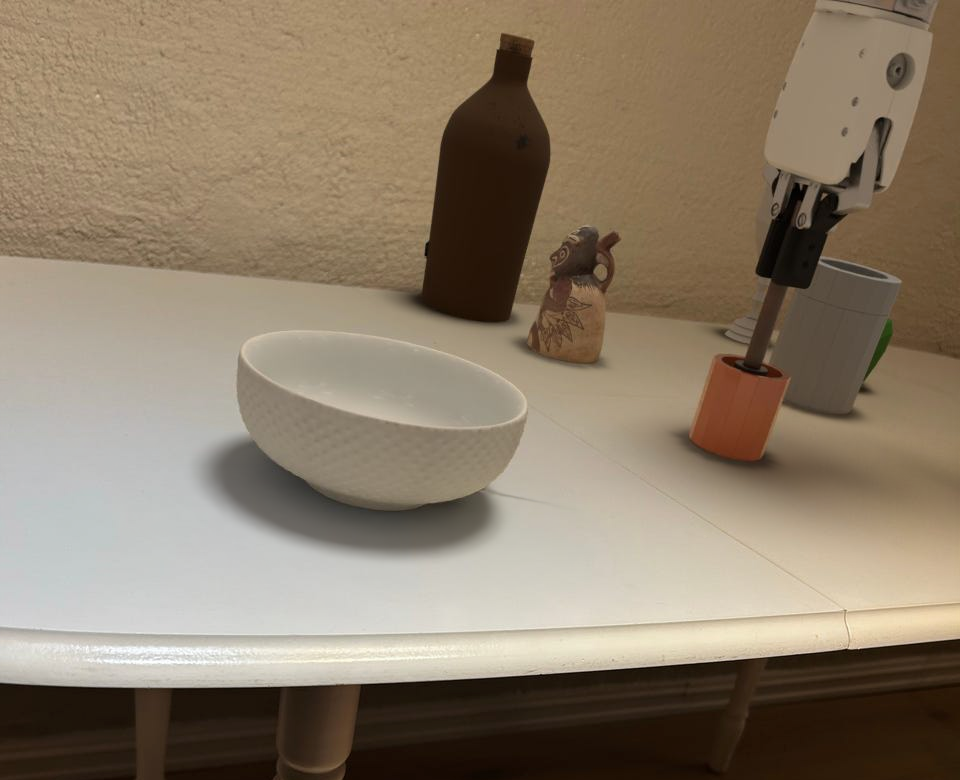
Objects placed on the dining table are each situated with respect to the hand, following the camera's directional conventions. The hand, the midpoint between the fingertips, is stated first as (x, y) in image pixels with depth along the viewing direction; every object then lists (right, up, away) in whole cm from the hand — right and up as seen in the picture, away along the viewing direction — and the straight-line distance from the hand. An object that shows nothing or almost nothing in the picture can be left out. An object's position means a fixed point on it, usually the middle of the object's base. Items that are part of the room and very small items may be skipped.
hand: (781, 280), depth 77 cm
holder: (-3, -11, +7) cm, 14 cm away
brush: (-2, -10, +6) cm, 12 cm away
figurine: (-15, 0, +22) cm, 27 cm away
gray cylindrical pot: (+10, -3, +27) cm, 28 cm away
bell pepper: (+16, +2, +37) cm, 41 cm away
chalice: (+9, +9, +46) cm, 48 cm away
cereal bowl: (-29, -17, -14) cm, 37 cm away
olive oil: (-24, +7, +30) cm, 39 cm away
